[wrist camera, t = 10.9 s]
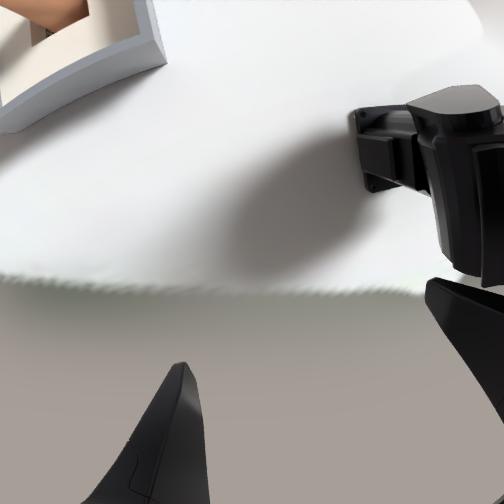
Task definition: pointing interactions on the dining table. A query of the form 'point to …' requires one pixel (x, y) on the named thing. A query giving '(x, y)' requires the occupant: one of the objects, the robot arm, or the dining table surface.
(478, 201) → the robot arm
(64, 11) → the peg
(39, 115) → the box
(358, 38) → the dining table surface
